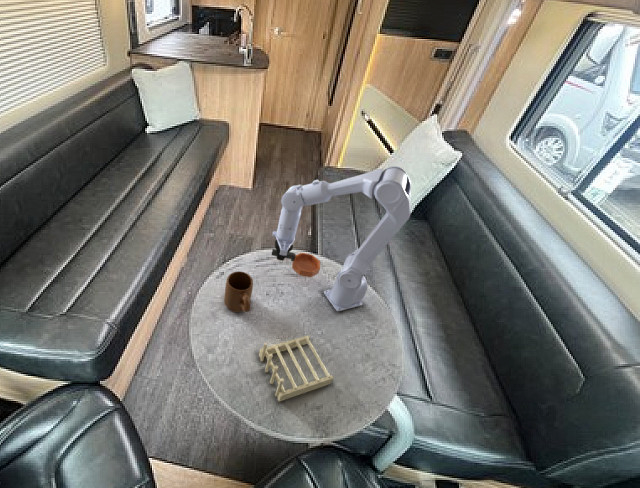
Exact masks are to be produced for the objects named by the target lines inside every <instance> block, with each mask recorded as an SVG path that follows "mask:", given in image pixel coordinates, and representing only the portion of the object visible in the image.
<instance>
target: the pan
mask: <svg viewBox="0 0 640 488" xmlns="http://www.w3.org/2000/svg"><path fill="white" fill-rule="evenodd" d="M271 256H274V257H277V251H276V248H272V249H271ZM285 259H289V260H290V261H291V263H292V264H291V269H292V270H293V271H294V272H296V274H298V276H302V277H305V278H306V277H307V278H312V277H315V276H316V275H319V272H320V270H321V261H320V260H319V258H317V257H316V256H315V255H314V254H312V253H306V252H300V253H297V254H296V253H295V252H293V251H290V252H289V253H288V254H287V255H286V257H285Z"/></svg>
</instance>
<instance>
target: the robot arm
mask: <svg viewBox="0 0 640 488" xmlns="http://www.w3.org/2000/svg"><path fill="white" fill-rule="evenodd" d="M356 193H357V194H358V193H362V194H363V195H365V196H366V197H368V198H369V199H371V200H372V199H373V197H374V198H375V199H376V201H377V202H378V203H379V204H380V205H381V206H382V207H383V208H384V210H385V214H384V215H382V218H381V219H379V221H378V223H377V224H376V226H374V228H373V229H372V230H371V232H370V233H369V234H368V236H367V237H366V238H365V240H364V241H363V242H362V244H361V245H360V246H359V248H356V249H355V250H354V251H353V252H352V253H349V254H347V255H346V257H345V258H344V263H343V265H342V267H341V269H340V270H339V271H337V274H336V276H335V279H334V282H333V284H332V287H331V289H327V290H323V295H324V296H325V297H326V298H327V299H328V301H329V302H330V304H331V306H332V307H333V308H334V310H335V311H336V312H341V311H345V310H350V309H353V308H357V307H361V306H363V299H364V297H365V295H366V293H367V291H368V288H369V287H368V286H369V285H368V280H367V279H366V277H365V275H366V274H367V272H368V269H369V267H370V266H371V265H372V263H373V262H374V261H375V259H377V257H379V255H380V253H381V252H382V251H383V250H384V249H385V248H386V246H387V245H388V244H389V243H390V242H391V241H392V239H393V238H394V237H395V236H396V235H397V233H399V232H400V231H401V229H402V228H403V226H404V225H405V224H406V223H407V222H408V220H409V219H410V217H411V212H412V182H411V180H410V176H409V175H408V173H407V171H406V170H405V169H404V168H402V167H400V166H396V165H395V166H394V165H393V166H388V167H386V168H385V169H384V168H377V169H373V170H371V171H369V172H365V173H362V174H359V175H355V176H351V177H349V178H345V179H342V180H337V181H334V182H327V181H326V180H320V179H314V180H313V181H312V183H307V184H303V185H302V184H297V185H296V184H295V185H292V186H290V187H289V188H288V189H287V190H286V191H285V193H284V194H283V195H282V197H281V199H280V203H281V210H280V214H279V219H278V223H277V224H278V225H277V230H276V231H275V230H273V231H272V235H271V236H272V237H273V238H275V240H274V249H276V251H277V256H276V260H278V261H282V262H283V261H284V260H285V259H286V258H285V257H286V255H287V254H288V253H289V252H292V250H293V249H294V243H295V241H296V234H297V231H298V227H299V224H300V219H301V216H302V209H303V207H308V206H312V205H318V204H323V203H328V202H330V200H331V198H332V197H336V196H343V195H351V194H356Z"/></svg>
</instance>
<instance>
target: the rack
mask: <svg viewBox="0 0 640 488" xmlns="http://www.w3.org/2000/svg"><path fill="white" fill-rule="evenodd" d="M310 339H311V337H310V335H309V334H308V335H304V336H301V337H297V338H294V339H291V340H290V339H289V340H287V341H283V342H279V343H275V344H272V345H269V346H268V343H267V342H264V344H263V345H262V347H261V348H260V349H259V353H258V356H259V359H260V362H264V359H265V358H266V360H267V361H266V364H265V368H264V372H265V373H268V372H269V370H270V369H271V371H272V374H271V377H270V380H269V384H270V385H274V382H275V380H276V382H277V384H278V385H277V388H276V391H275V394H274V395H275V397H277V402H279V403H281V402H282V401H285V400H288V399H291V398H294V397H297V396H299V395H300V396H301V395H304V394H305V393H308V392H311V391H314V390H317V389H320V388H323V387H326V386H329V385H331V384H332V382H333V380H334V377H333V374H331V375H330V373H329V371H328V369H327V368H326V366H325V364H324V363H323V361H322V359H321V357H320V356H319V354H318V352H317V351H316V348H315V346H313V344H312V341H311V340H310ZM305 345H308V346H309V348H310V349H311V352H312V354H313V355H314V357H315V359H316V360H317V362H318V364H319V366H320V367H321V369H322V371H323V373H324V375H325V377H322V378H319V376H318V374H317V372H316V370H315V368H314V366H313V365H312V363H311V362H310V361H311V360H309V358H308V356H307V354H306V352H305V351H304V349H303V347H302V346H305ZM294 348H298V350H299V352H300V353H301V356H302V358H303V359H304V361H305V363H306V365H307V366H308V368H309V371H310V372H311V374H312V376H313V378H314V379H315V380H313V381H310V382H308V379H307V378H306V376H305V374H304V372H303V370H302V368H301V366H300V364H299V362H298V361H297V358H296V356H295V354H294V352H293V350H292V349H294ZM285 351H288V353H289V356H290V358H291V360H292V362H293V364H294V366H295V367H296V369H297V371H298V374H299V376H300V377H301V379H302V381H303V384H301V385H298V386H297V384H296V383H295V380H294V378H293V376H292V373H291V372H290V369H289V367H288V366H287V364H286V361H285V359H284V357H283V355H282V352H285ZM274 354H277V356H278V358H279V361H280V363H281V365H282V367H283V369H284V371H285V373H286V375H287V377H288V379H289V382H290V383H291V386H292V388H289V389H285V387H284V385H283V384H284V382H285V379H284V378H283V377H281V378H280V376H279V374H278V371H279V366H278V365H275V364H274V363H273V361H272V359H273V355H274Z"/></svg>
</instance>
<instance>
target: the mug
mask: <svg viewBox="0 0 640 488" xmlns="http://www.w3.org/2000/svg"><path fill="white" fill-rule="evenodd" d="M253 287H254V279H253V277H252V276H251V275H250V274H249V273H247V272H244V271H232V272H231V273H230V274H228V276H227V278H226V282H225V289H224V297H223V298H224V299H223V300H224V306H225V307H226V308H227V309H228V310H229V311H231V312H233V313H242V312H244V313H249V312H250V311H251V307H252V305H251V299H252V293H253Z"/></svg>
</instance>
